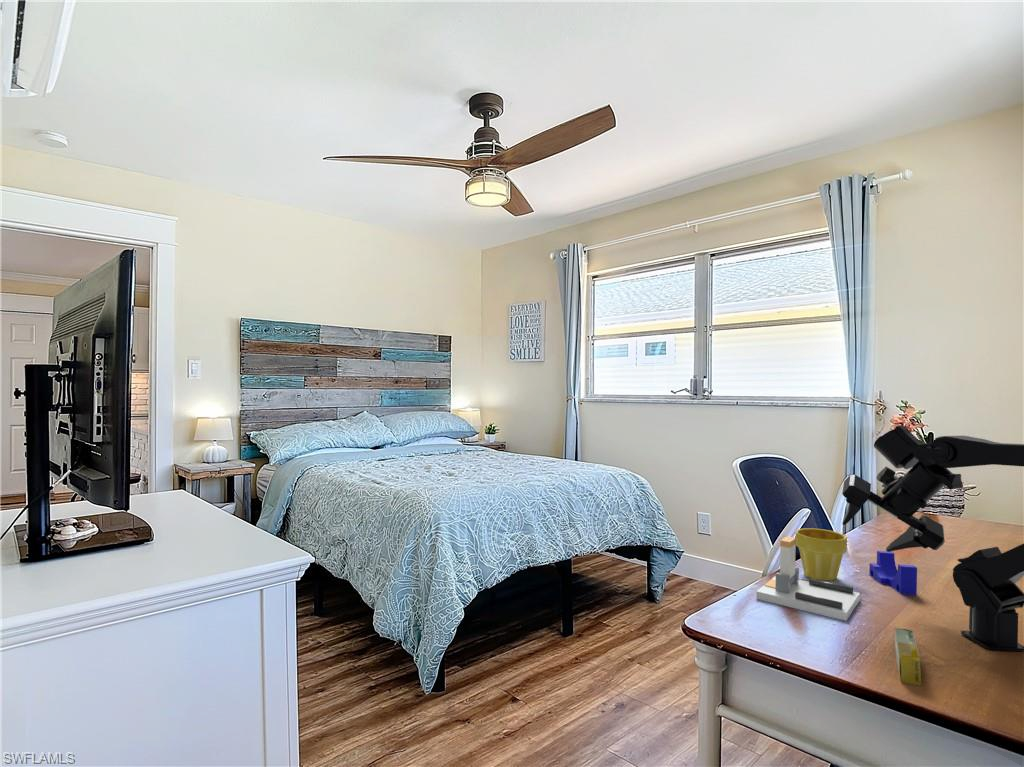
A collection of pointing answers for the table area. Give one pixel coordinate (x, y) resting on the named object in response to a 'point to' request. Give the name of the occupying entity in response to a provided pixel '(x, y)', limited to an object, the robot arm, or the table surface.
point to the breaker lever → (788, 557)
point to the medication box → (907, 657)
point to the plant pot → (821, 552)
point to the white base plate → (810, 595)
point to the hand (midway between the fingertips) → (864, 536)
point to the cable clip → (894, 573)
